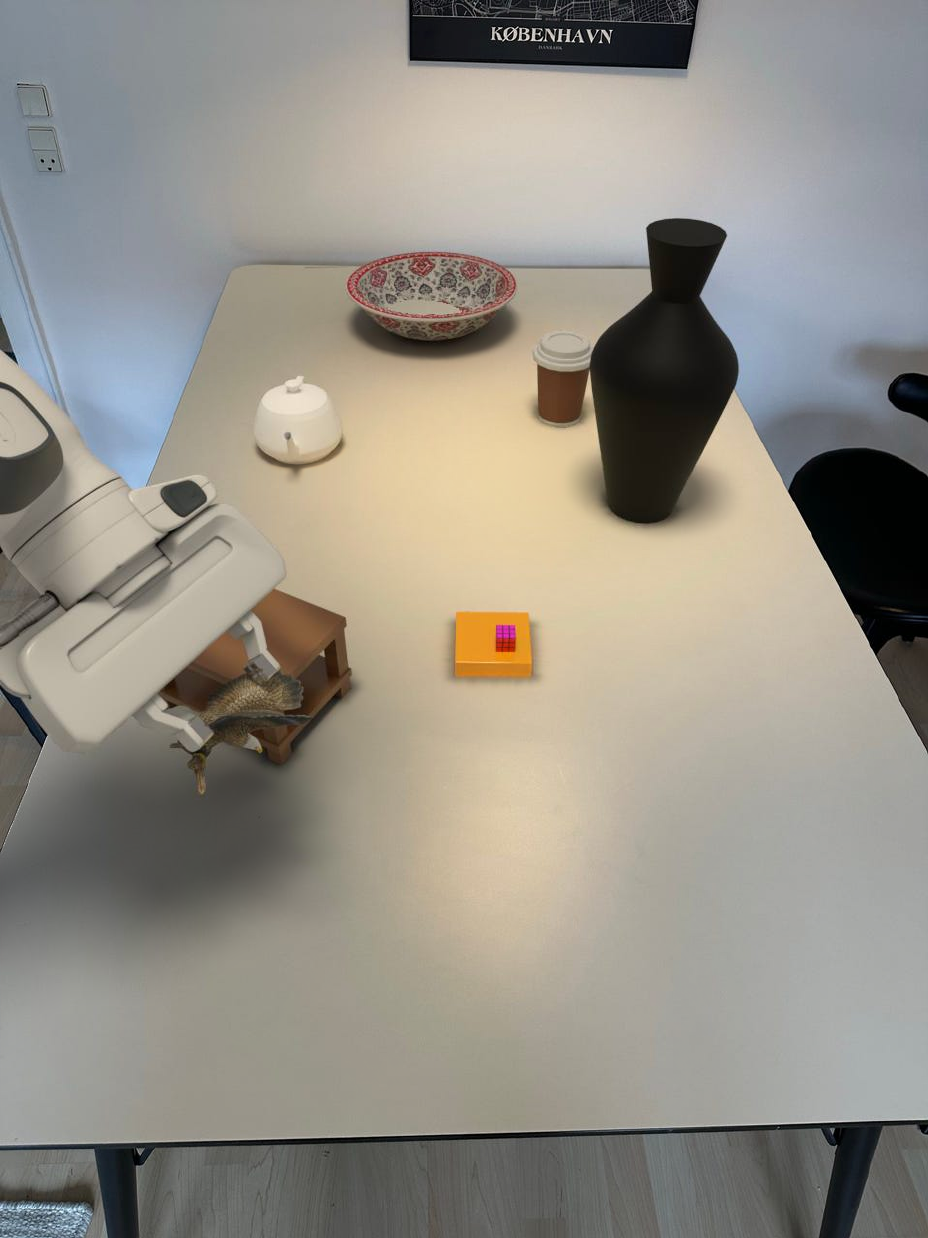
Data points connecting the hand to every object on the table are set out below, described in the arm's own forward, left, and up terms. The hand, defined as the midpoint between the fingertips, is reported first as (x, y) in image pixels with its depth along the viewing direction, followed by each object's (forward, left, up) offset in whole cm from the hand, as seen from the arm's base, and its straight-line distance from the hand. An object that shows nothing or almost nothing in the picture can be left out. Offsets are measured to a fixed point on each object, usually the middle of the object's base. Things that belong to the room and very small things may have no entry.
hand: (238, 708), depth 63 cm
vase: (+68, -7, -22) cm, 71 cm away
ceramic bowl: (+101, +44, -22) cm, 112 cm away
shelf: (+16, +15, -21) cm, 31 cm away
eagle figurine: (+2, +1, -4) cm, 4 cm away
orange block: (+34, -3, -22) cm, 40 cm away
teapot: (+57, +40, -22) cm, 73 cm away
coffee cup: (+84, +12, -22) cm, 87 cm away
